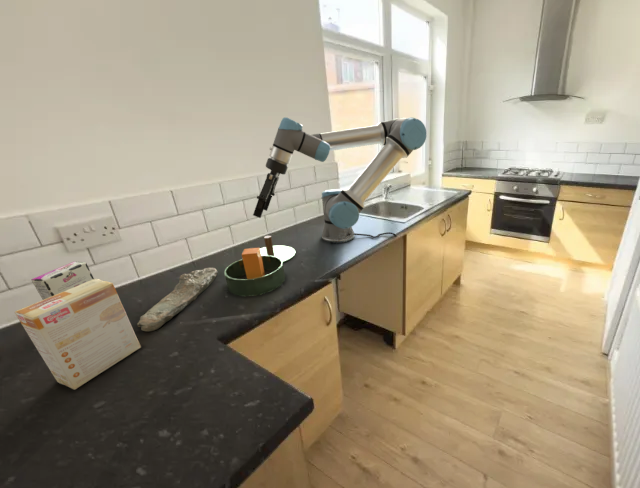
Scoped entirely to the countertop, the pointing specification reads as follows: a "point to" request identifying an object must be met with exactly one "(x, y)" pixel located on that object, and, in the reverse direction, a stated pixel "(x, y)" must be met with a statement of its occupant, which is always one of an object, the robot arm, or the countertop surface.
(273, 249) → the tin lid
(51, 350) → the coffeecake box
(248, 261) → the snack box
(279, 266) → the tin
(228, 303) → the countertop surface
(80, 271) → the candy bar box
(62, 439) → the countertop surface
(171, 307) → the elongated rock
